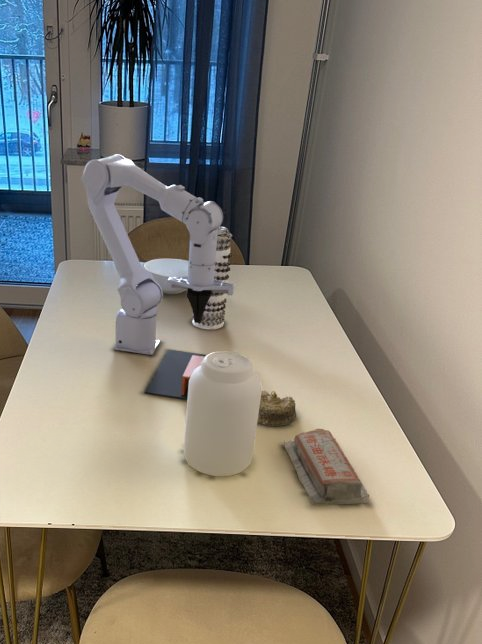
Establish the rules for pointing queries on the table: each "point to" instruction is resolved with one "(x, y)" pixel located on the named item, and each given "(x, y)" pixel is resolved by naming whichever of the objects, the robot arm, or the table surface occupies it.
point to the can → (222, 414)
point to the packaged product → (325, 469)
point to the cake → (276, 410)
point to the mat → (171, 375)
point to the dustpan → (190, 371)
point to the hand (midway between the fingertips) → (198, 321)
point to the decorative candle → (215, 304)
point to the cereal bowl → (167, 272)
